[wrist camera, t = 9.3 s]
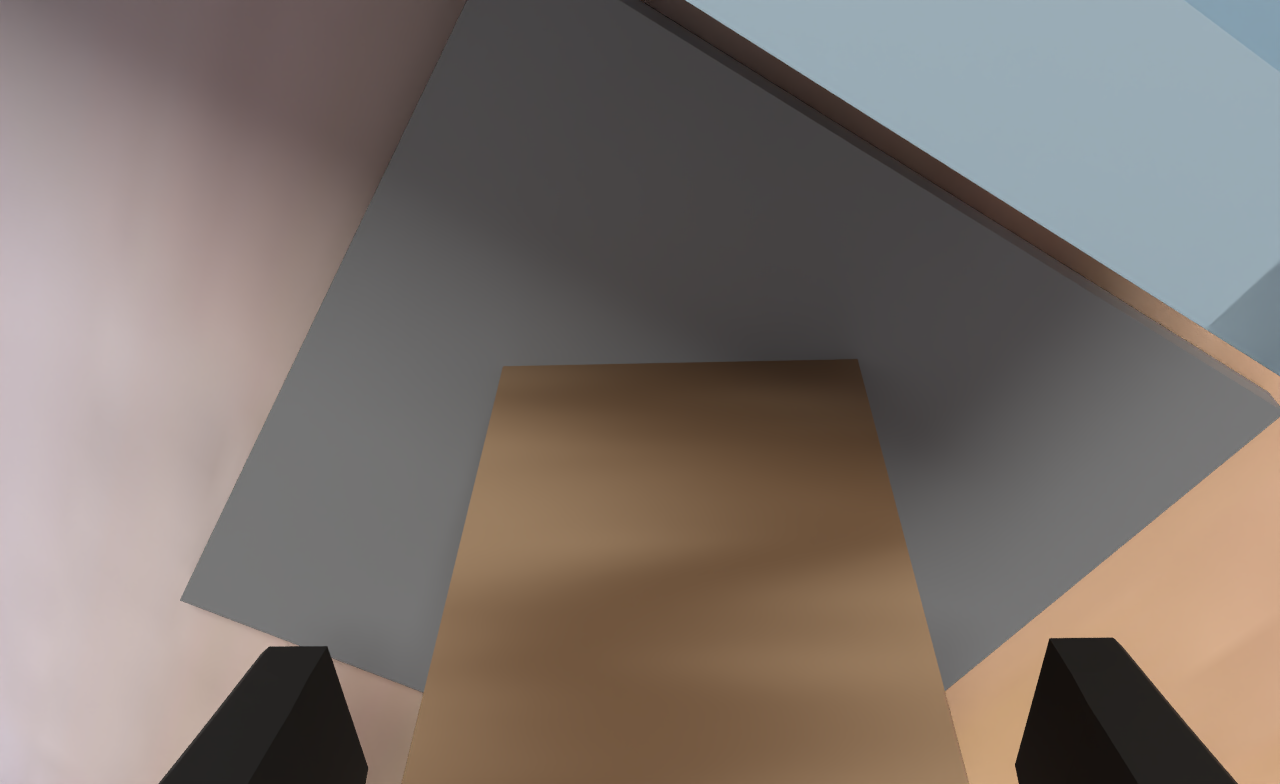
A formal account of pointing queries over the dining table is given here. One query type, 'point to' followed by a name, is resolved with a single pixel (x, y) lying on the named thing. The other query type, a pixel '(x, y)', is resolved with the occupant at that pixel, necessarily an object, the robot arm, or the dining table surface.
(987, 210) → the dining table surface
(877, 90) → the bay
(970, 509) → the mat
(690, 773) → the walnut block
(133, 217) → the dining table surface
